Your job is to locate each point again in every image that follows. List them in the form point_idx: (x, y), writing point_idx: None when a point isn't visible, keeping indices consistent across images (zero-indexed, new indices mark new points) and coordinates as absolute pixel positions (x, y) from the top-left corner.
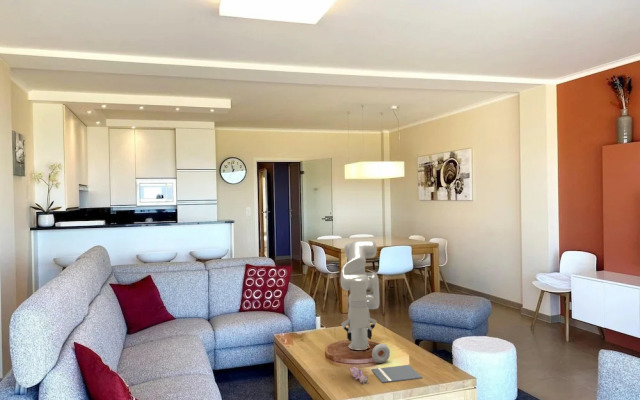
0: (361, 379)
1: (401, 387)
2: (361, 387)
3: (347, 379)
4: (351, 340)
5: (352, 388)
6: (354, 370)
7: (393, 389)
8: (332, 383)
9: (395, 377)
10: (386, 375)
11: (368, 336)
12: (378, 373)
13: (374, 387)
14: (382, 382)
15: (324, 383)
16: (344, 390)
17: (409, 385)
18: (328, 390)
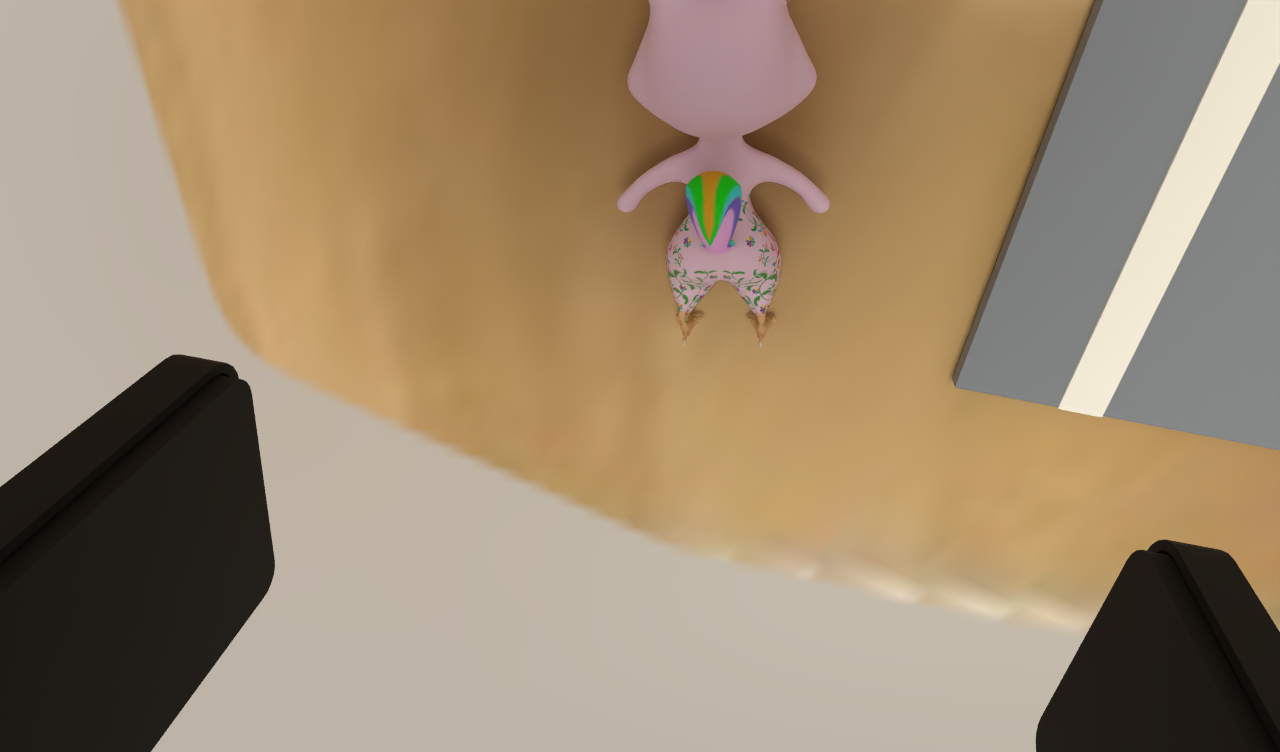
0: (681, 283)
1: (1079, 565)
2: (633, 357)
3: (552, 30)
4: (266, 590)
5: (516, 331)
6: (669, 42)
7: (955, 560)
8: (298, 69)
9: (1244, 351)
10: (1181, 234)
11: (1103, 721)
12: (1133, 89)
13: (783, 427)
14: (957, 382)
15: (184, 14)
16: (406, 335)
17: None
18: (218, 249)
